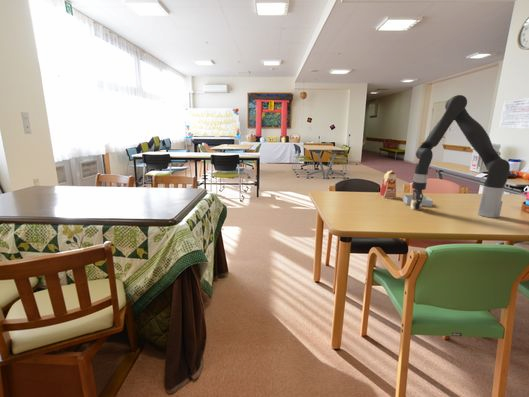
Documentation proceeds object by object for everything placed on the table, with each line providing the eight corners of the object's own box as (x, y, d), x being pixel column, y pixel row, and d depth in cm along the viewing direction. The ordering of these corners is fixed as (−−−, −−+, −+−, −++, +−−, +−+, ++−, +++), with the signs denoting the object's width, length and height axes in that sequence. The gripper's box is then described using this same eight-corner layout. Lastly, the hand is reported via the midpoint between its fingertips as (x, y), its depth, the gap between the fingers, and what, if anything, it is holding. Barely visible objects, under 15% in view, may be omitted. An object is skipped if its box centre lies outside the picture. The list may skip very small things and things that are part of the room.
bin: (426, 201, 200) (426, 196, 199) (431, 206, 188) (432, 200, 187) (402, 200, 204) (402, 194, 203) (406, 204, 191) (407, 198, 190)
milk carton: (396, 198, 208) (400, 170, 203) (383, 198, 208) (387, 170, 204) (391, 195, 217) (394, 168, 212) (378, 195, 217) (382, 168, 212)
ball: (424, 202, 197) (425, 195, 196) (426, 204, 192) (427, 196, 191) (416, 201, 198) (417, 194, 197) (418, 203, 193) (419, 196, 192)
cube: (418, 208, 184) (420, 200, 183) (421, 210, 180) (422, 202, 178) (410, 207, 185) (411, 199, 184) (412, 209, 181) (413, 201, 180)
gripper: (430, 183, 171) (425, 211, 175) (423, 179, 184) (419, 205, 188) (416, 182, 172) (412, 210, 177) (410, 178, 186) (406, 204, 190)
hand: (415, 207), depth 182 cm, fingers closed on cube, 5 cm apart
